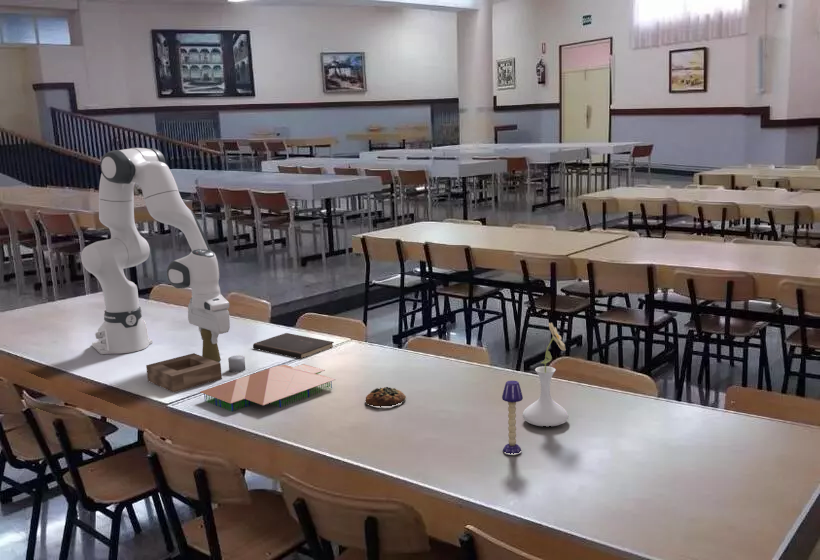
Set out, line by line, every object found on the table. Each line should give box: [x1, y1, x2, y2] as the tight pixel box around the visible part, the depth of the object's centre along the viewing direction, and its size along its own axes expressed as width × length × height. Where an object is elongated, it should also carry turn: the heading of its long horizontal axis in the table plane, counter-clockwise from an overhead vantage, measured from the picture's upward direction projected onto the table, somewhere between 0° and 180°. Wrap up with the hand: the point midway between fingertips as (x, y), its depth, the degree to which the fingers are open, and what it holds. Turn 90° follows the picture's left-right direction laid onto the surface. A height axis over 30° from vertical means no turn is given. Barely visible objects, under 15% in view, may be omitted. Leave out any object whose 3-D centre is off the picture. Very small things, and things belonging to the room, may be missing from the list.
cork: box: [200, 328, 222, 363], centre depth 253 cm, size 6×6×11 cm
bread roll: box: [364, 386, 407, 407], centre depth 213 cm, size 11×11×5 cm
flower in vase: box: [521, 322, 570, 428], centre depth 194 cm, size 13×11×25 cm
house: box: [199, 363, 336, 412], centre depth 222 cm, size 23×33×8 cm
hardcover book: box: [252, 332, 335, 359], centre depth 268 cm, size 16×23×2 cm
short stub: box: [227, 354, 246, 373], centre depth 246 cm, size 5×5×4 cm
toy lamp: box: [501, 380, 523, 454], centre depth 177 cm, size 5×5×17 cm
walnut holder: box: [146, 352, 223, 393], centre depth 237 cm, size 16×16×5 cm
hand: (209, 341), depth 253 cm, fingers closed on cork, 4 cm apart
